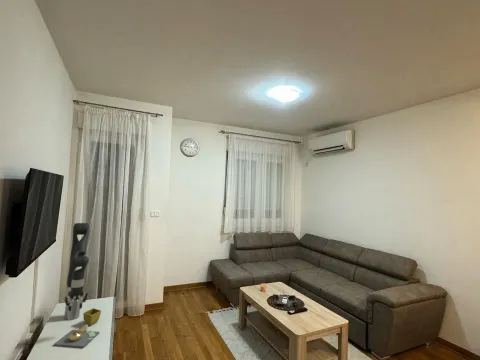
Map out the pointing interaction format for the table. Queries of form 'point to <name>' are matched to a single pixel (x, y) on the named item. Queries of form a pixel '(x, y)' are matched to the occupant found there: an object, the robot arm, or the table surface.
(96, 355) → the table surface
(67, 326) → the table surface
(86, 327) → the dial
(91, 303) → the table surface
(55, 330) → the table surface
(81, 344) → the board
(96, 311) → the flower pot
